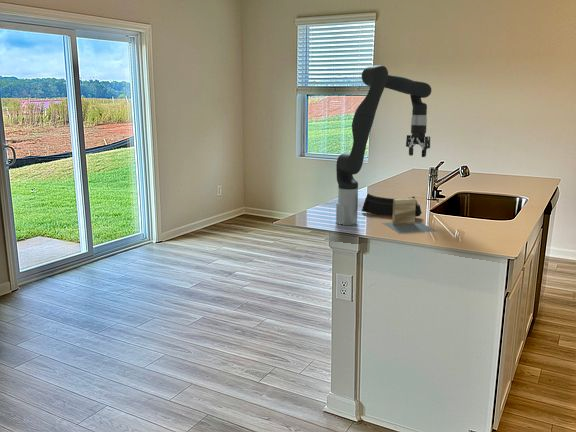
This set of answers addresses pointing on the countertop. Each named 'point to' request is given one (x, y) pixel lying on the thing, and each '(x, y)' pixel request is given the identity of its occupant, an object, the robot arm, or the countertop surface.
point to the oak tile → (404, 211)
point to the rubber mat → (409, 228)
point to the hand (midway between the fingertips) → (417, 156)
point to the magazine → (383, 206)
